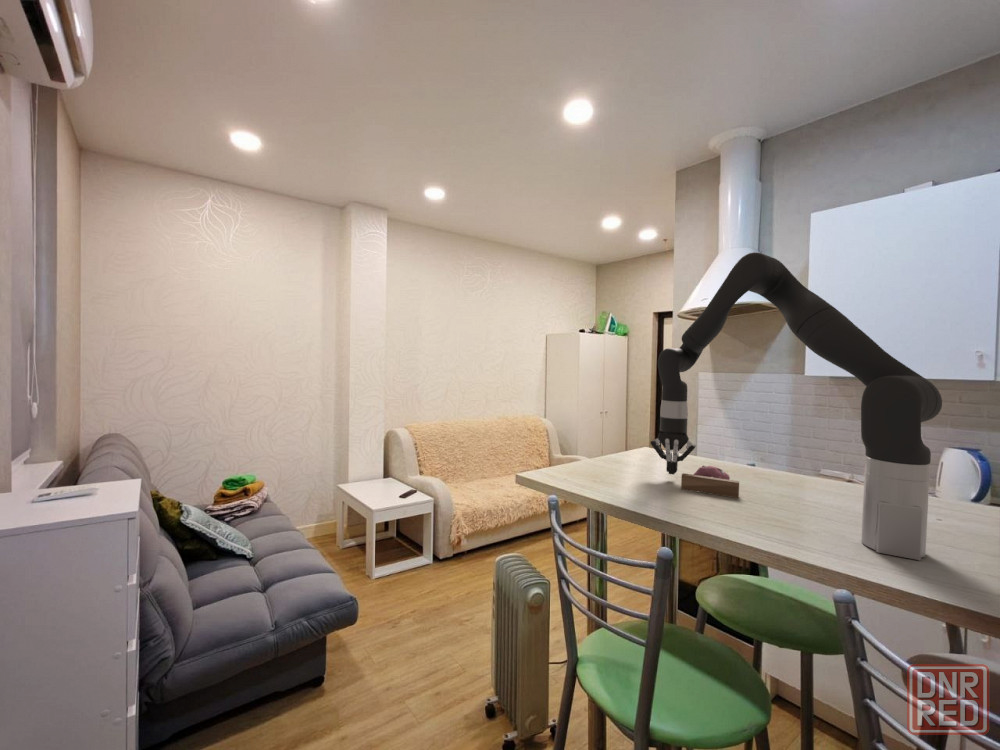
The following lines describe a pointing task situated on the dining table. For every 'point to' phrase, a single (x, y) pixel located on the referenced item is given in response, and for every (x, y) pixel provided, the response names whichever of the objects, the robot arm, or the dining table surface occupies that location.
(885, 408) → the robot arm
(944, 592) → the dining table surface
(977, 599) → the dining table surface
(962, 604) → the dining table surface
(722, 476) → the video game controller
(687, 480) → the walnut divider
